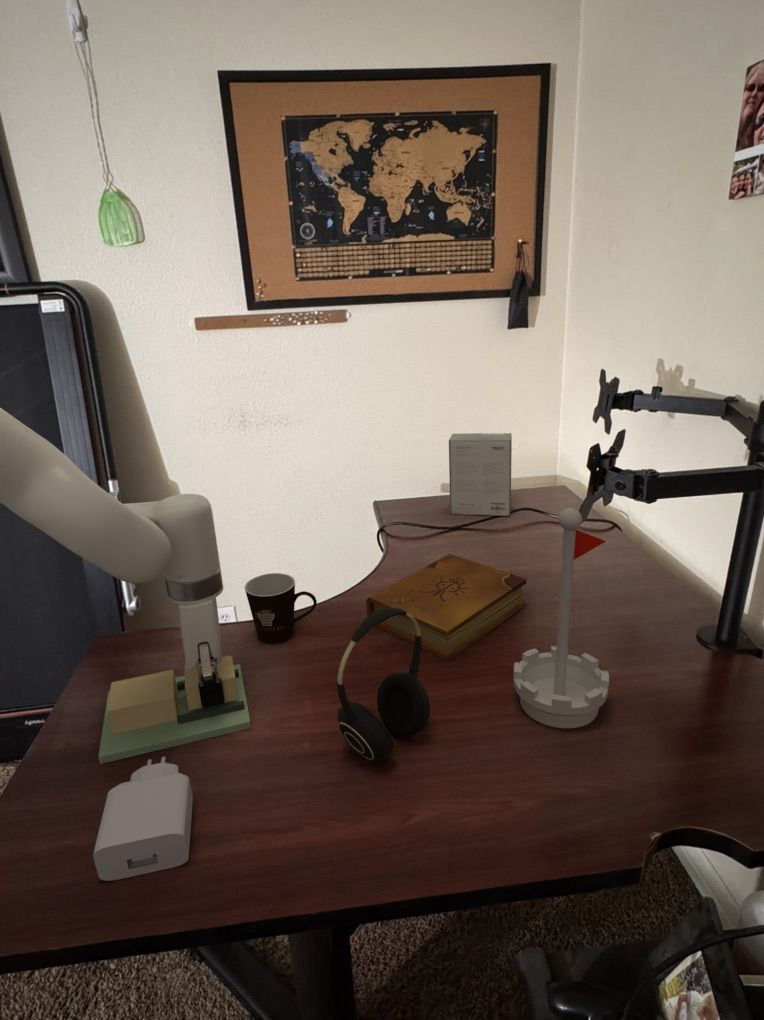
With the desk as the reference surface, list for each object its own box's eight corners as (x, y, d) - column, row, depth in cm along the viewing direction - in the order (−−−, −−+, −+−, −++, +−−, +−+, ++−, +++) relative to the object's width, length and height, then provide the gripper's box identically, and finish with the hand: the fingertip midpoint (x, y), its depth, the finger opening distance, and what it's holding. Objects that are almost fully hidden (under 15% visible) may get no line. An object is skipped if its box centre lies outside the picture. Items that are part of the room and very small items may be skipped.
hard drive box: (511, 506, 166) (513, 433, 159) (509, 517, 159) (512, 440, 152) (452, 504, 170) (452, 432, 163) (449, 514, 163) (448, 439, 156)
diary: (446, 578, 129) (446, 552, 127) (525, 606, 117) (526, 578, 115) (367, 622, 114) (365, 594, 112) (448, 661, 102) (447, 630, 100)
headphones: (445, 729, 87) (444, 601, 80) (368, 790, 77) (359, 651, 70) (400, 702, 93) (395, 581, 86) (323, 756, 83) (310, 624, 76)
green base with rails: (99, 764, 84) (91, 732, 82) (109, 697, 97) (102, 669, 95) (251, 728, 89) (246, 697, 87) (240, 669, 102) (236, 642, 101)
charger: (196, 766, 82) (189, 864, 69) (122, 781, 81) (100, 883, 67) (191, 737, 81) (182, 831, 67) (115, 751, 79) (91, 850, 65)
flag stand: (532, 739, 84) (542, 533, 74) (500, 681, 96) (505, 497, 86) (623, 726, 86) (646, 522, 75) (581, 670, 98) (595, 488, 87)
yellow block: (189, 711, 90) (185, 687, 89) (188, 687, 95) (184, 664, 94) (238, 700, 92) (235, 677, 91) (234, 677, 97) (231, 655, 96)
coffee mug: (241, 638, 111) (234, 588, 108) (275, 617, 118) (269, 569, 114) (289, 658, 105) (283, 605, 101) (323, 634, 111) (318, 584, 108)
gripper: (166, 562, 94) (184, 665, 100) (165, 617, 78) (187, 734, 85) (217, 554, 96) (232, 655, 102) (226, 606, 81) (243, 721, 87)
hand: (212, 690), depth 93 cm, fingers closed on yellow block, 6 cm apart
